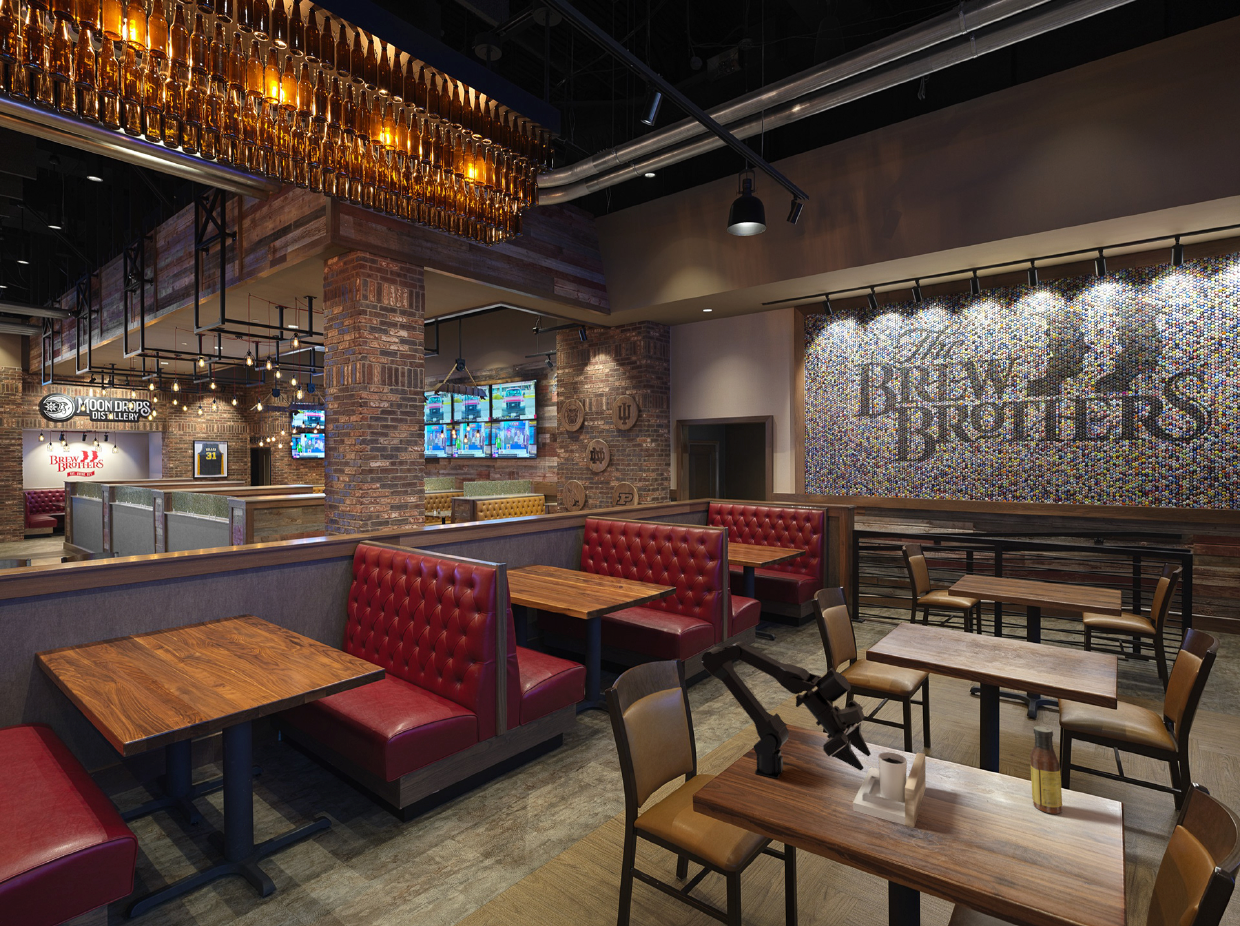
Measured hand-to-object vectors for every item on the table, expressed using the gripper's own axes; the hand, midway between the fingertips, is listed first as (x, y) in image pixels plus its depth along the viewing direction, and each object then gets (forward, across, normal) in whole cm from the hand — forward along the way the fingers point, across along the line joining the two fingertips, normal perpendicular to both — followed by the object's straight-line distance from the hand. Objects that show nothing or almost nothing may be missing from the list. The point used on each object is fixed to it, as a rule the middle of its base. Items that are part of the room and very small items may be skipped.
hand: (866, 762), depth 162 cm
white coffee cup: (+10, 0, +1) cm, 10 cm away
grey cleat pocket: (+10, +3, +3) cm, 11 cm away
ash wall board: (+15, +3, -2) cm, 15 cm away
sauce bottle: (+34, +19, -21) cm, 45 cm away
